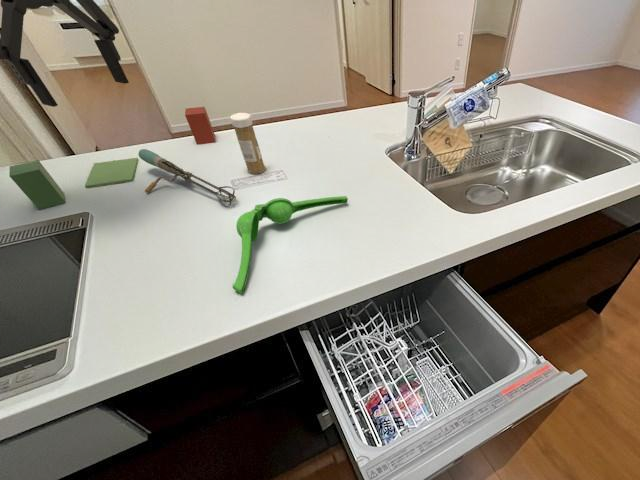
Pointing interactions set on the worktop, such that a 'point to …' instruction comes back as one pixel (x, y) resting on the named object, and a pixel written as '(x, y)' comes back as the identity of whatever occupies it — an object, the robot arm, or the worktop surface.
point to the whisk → (172, 168)
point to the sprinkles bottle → (248, 142)
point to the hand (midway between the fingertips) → (88, 93)
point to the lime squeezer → (278, 213)
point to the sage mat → (112, 172)
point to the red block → (200, 125)
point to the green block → (37, 184)
